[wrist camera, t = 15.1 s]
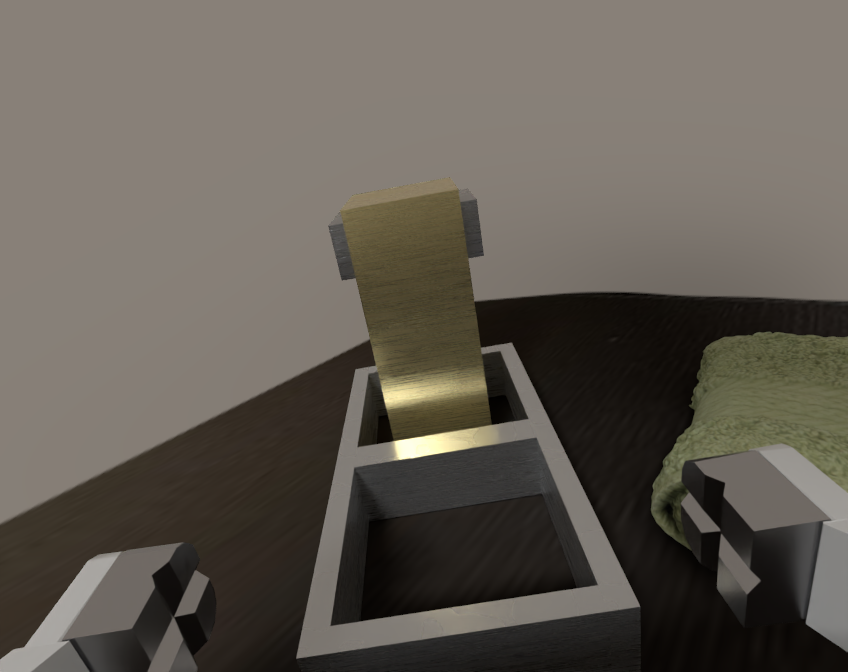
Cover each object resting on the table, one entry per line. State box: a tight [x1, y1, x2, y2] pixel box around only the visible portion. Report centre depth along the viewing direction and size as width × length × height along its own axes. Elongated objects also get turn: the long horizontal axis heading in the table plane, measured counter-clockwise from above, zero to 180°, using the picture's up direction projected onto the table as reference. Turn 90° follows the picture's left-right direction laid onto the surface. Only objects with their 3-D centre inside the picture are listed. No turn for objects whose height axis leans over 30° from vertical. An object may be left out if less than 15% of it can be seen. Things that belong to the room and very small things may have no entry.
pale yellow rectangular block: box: [329, 177, 492, 441], centre depth 21 cm, size 5×4×11 cm
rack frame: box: [296, 343, 641, 672], centre depth 19 cm, size 8×15×2 cm, turn 2°
